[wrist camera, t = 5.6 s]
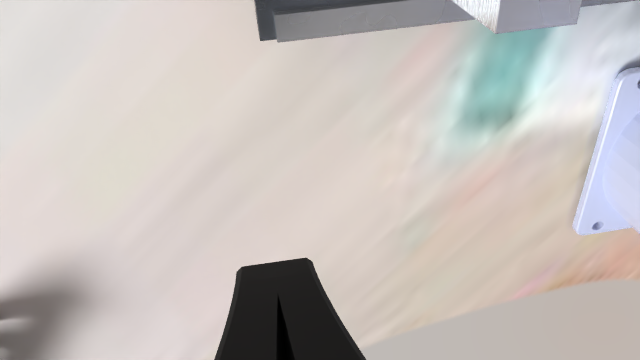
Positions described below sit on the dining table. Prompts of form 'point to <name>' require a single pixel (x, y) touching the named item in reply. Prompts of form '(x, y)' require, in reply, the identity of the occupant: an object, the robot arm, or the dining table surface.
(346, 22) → the gauge plate
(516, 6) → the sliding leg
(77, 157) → the dining table surface
